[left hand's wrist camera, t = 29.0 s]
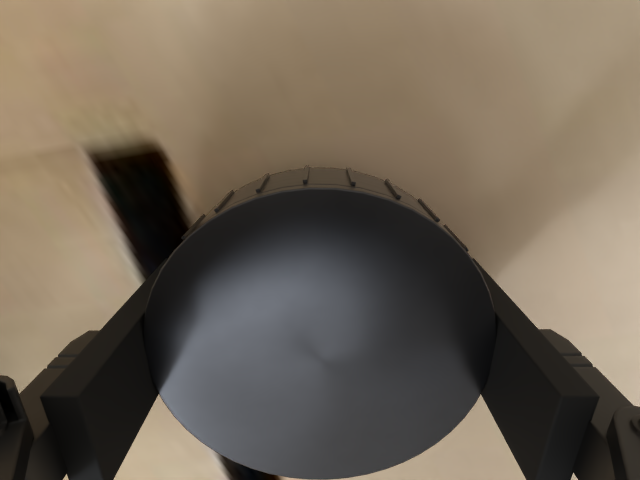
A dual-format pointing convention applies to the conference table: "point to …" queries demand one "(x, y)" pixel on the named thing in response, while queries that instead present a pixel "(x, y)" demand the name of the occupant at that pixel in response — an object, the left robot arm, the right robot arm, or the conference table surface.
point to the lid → (319, 326)
